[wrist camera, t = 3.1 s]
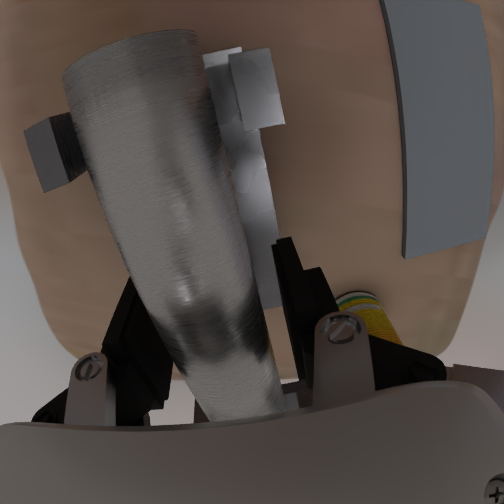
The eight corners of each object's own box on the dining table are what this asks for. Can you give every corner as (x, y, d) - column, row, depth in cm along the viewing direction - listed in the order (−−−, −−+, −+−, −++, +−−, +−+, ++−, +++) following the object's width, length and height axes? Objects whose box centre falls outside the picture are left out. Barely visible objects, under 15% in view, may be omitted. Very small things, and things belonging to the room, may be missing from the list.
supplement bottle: (388, 314, 26) (432, 397, 18) (339, 345, 28) (369, 432, 19) (364, 277, 24) (415, 368, 16) (309, 314, 25) (338, 412, 17)
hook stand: (141, 74, 16) (3, 71, 4) (240, 48, 16) (261, -28, 4) (214, 312, 25) (211, 468, 13) (289, 297, 24) (327, 451, 13)
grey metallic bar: (94, 78, 7) (34, 81, 4) (202, 42, 7) (187, 18, 4) (233, 426, 15) (235, 477, 12) (290, 417, 14) (299, 468, 12)
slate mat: (377, -11, 13) (380, -13, 13) (474, 5, 13) (479, 5, 12) (401, 255, 23) (405, 259, 23) (481, 234, 23) (485, 237, 22)
